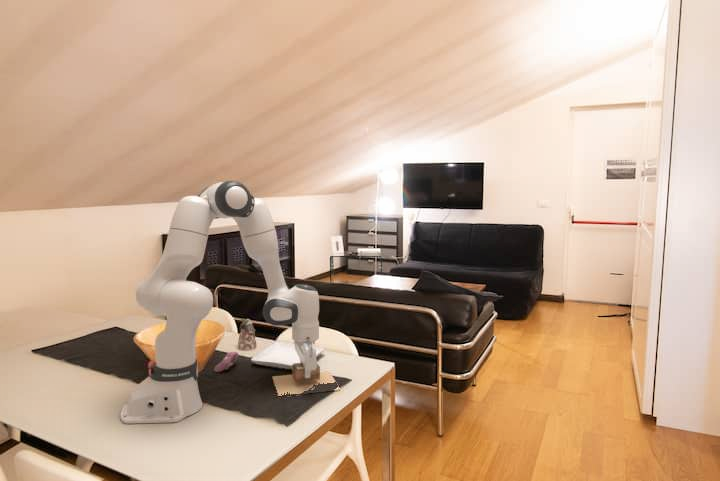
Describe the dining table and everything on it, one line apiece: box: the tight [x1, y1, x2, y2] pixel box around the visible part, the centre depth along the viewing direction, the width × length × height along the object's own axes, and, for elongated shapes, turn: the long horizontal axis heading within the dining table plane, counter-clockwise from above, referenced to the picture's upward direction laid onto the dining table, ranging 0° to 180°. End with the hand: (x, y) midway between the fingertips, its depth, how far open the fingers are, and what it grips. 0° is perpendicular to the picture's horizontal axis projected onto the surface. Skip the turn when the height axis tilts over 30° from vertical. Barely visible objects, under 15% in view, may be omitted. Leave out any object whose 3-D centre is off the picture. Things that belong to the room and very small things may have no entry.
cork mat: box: [272, 370, 341, 397], centre depth 173 cm, size 20×16×1 cm
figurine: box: [237, 317, 257, 352], centre depth 206 cm, size 7×7×12 cm
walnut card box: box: [291, 363, 321, 383], centre depth 172 cm, size 5×8×5 cm, turn 114°
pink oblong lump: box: [213, 350, 240, 373], centre depth 185 cm, size 10×5×7 cm, turn 170°
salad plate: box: [250, 341, 325, 371], centre depth 194 cm, size 21×21×3 cm
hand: (305, 373), depth 172 cm, fingers closed on walnut card box, 5 cm apart
